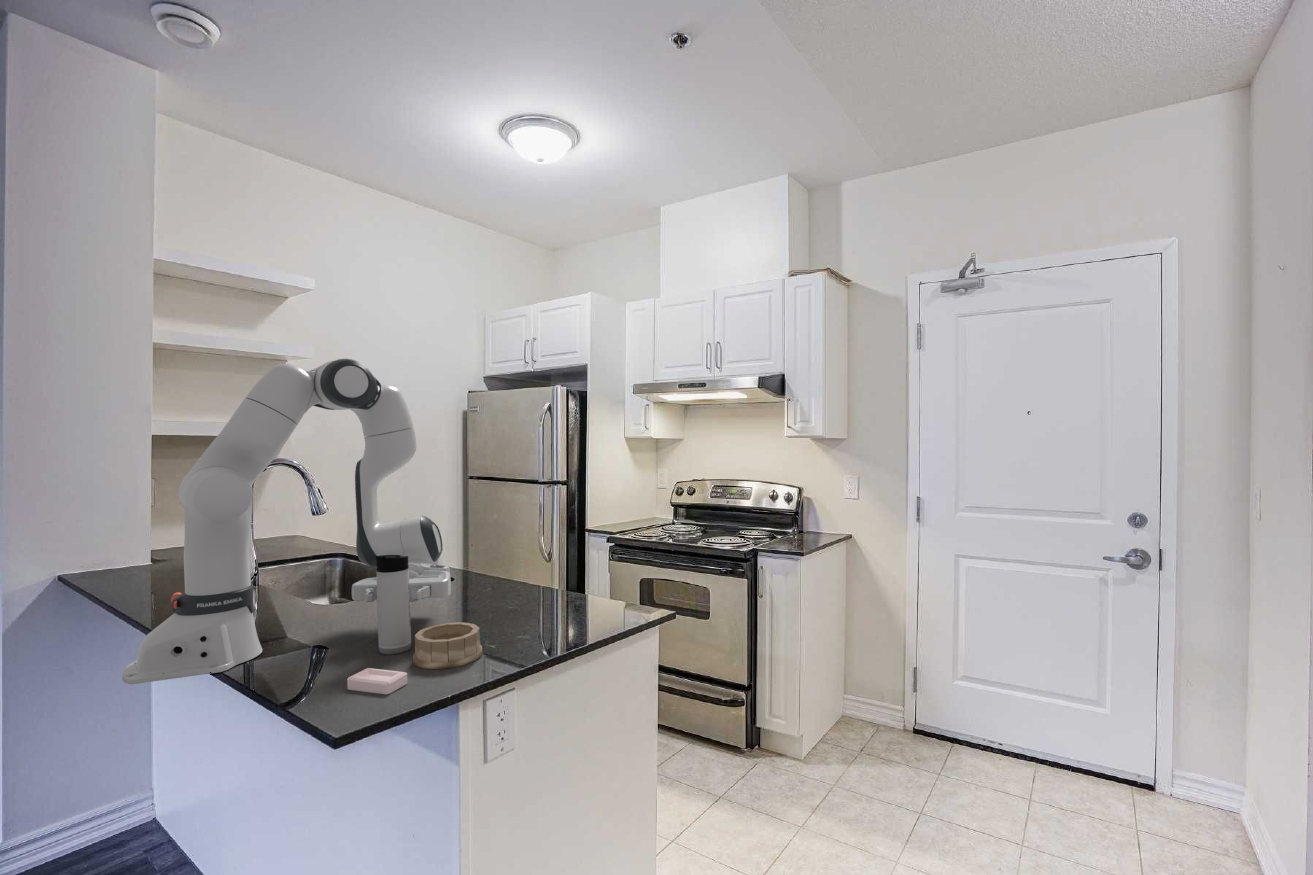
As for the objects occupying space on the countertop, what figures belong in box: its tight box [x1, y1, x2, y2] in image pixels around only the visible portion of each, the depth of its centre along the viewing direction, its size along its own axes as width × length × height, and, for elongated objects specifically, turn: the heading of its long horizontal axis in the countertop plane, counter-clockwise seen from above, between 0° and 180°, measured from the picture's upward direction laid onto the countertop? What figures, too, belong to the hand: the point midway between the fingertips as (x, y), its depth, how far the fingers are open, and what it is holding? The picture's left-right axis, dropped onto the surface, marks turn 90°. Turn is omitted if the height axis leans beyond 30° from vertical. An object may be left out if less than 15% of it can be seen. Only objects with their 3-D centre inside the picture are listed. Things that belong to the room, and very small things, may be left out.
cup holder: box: [412, 621, 483, 670], centre depth 129 cm, size 13×13×5 cm
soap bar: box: [346, 667, 408, 695], centre depth 115 cm, size 5×9×2 cm, turn 72°
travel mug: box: [375, 555, 412, 655], centre depth 134 cm, size 6×7×20 cm
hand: (392, 597), depth 133 cm, fingers open, 8 cm apart
